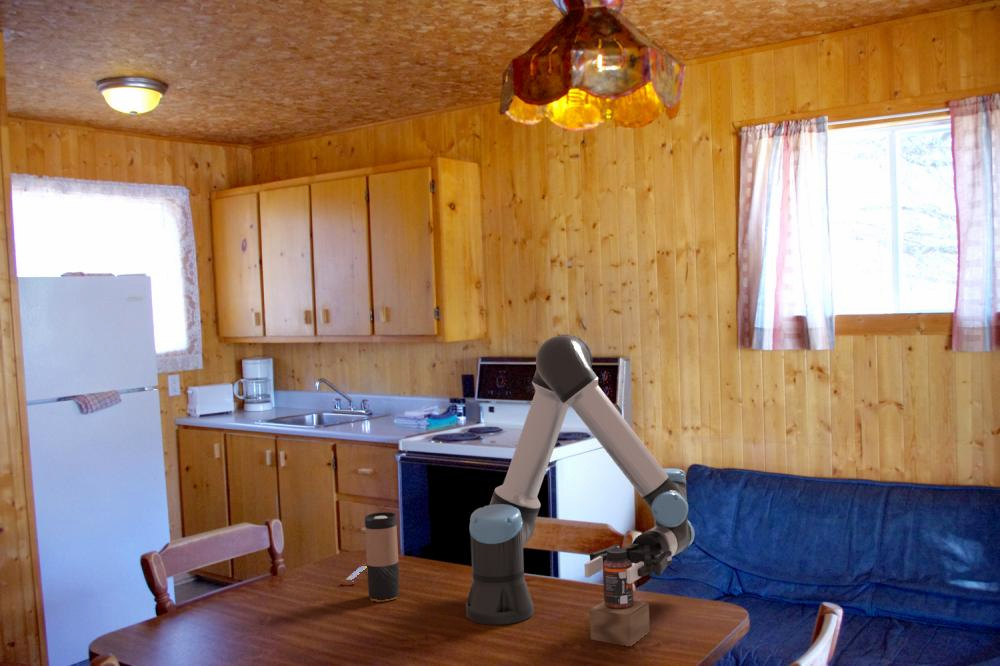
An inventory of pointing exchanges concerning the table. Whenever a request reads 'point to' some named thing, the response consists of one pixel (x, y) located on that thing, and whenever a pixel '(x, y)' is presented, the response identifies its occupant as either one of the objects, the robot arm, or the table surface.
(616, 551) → the supplement bottle
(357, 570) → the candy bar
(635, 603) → the light wooden box
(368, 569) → the travel mug
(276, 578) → the table surface
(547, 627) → the table surface
